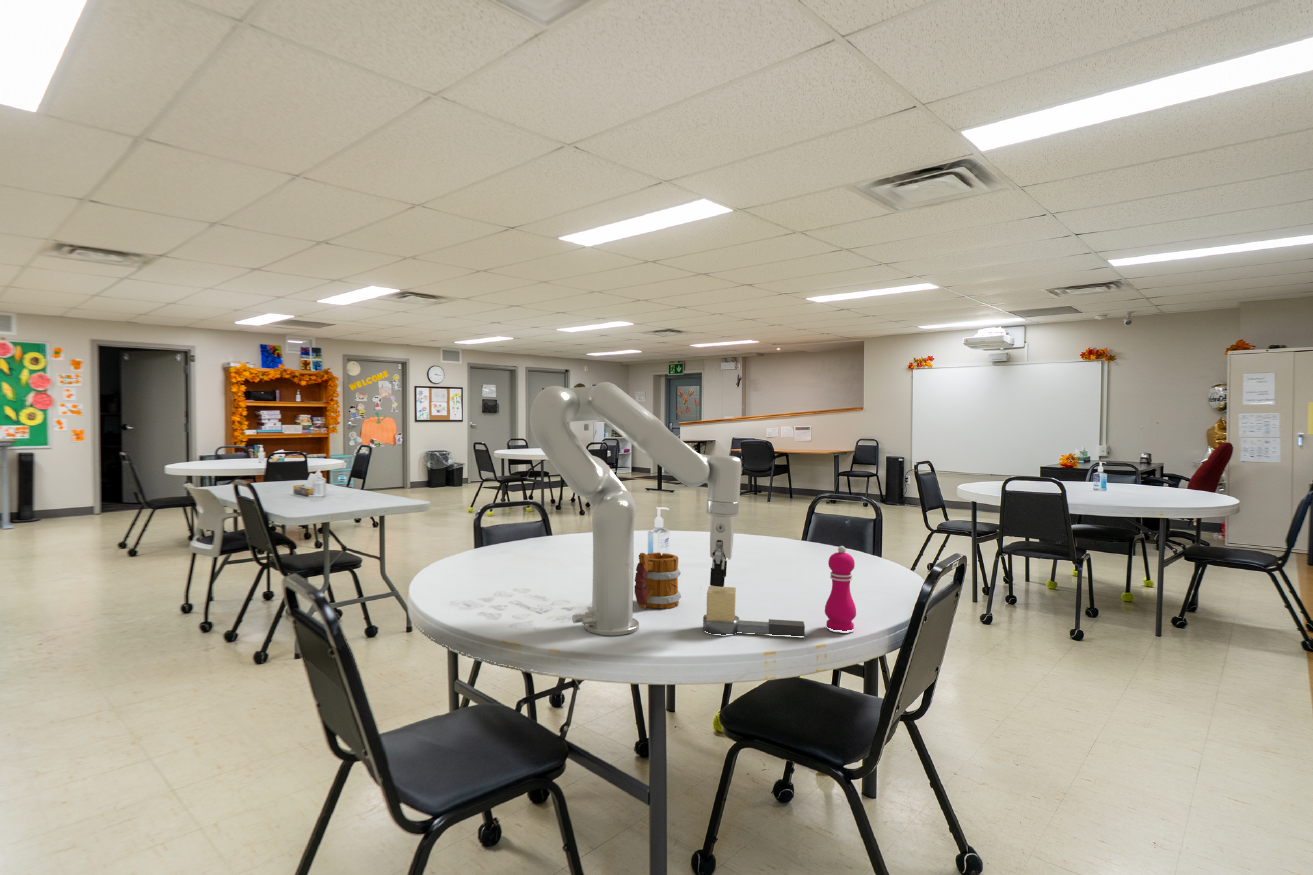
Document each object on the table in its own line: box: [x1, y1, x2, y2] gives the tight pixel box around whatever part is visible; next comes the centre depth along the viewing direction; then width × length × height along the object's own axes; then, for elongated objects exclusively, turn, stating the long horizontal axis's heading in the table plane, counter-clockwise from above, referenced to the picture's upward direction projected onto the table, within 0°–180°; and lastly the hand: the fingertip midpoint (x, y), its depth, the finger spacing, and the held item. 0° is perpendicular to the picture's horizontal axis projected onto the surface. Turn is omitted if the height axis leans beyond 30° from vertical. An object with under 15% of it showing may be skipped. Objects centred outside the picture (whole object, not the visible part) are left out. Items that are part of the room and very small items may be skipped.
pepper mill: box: [824, 545, 857, 631], centre depth 154 cm, size 7×7×20 cm
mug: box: [633, 552, 682, 610], centre depth 171 cm, size 11×16×15 cm, turn 146°
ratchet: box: [702, 613, 806, 637], centre depth 150 cm, size 23×8×8 cm, turn 81°
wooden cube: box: [705, 585, 737, 623], centre depth 152 cm, size 6×6×6 cm
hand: (718, 581), depth 151 cm, fingers open, 9 cm apart
